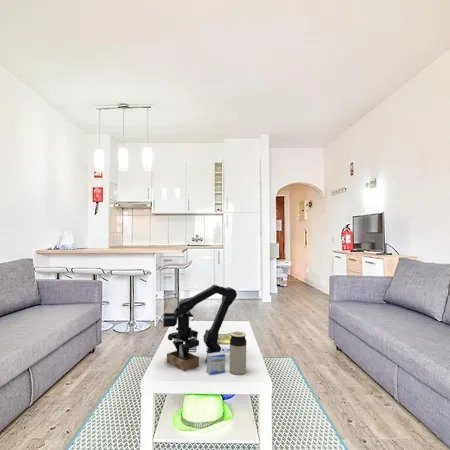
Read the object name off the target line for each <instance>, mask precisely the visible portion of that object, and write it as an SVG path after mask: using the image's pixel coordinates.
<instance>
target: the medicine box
mask: <svg viewBox="0 0 450 450" xmlns="http://www.w3.org/2000/svg"><path fill="white" fill-rule="evenodd" d="M206 359H207V362H206V372H207V373H208V374H209V375H211V376H212V375H216V374H222V373H225V372H226V353H224V351H220V352H215V353H207V352H206Z"/></svg>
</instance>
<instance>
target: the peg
mask: <svg viewBox="0 0 450 450" xmlns="http://www.w3.org/2000/svg"><path fill="white" fill-rule="evenodd" d="M184 344H185V343H183V344H180V345H179V358H180V359H182V360H184V361H186V358H184V355H183V351H182V345H184Z"/></svg>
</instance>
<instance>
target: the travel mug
mask: <svg viewBox="0 0 450 450" xmlns="http://www.w3.org/2000/svg"><path fill="white" fill-rule="evenodd" d="M230 336H231V337H230V339H229V372H230V373H231V374H233V375H244V374H245V373H246V372H247V339H246V336H247V334H246V332H244V331H240V330H238V331H231V333H230Z"/></svg>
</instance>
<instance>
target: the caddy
mask: <svg viewBox="0 0 450 450" xmlns="http://www.w3.org/2000/svg"><path fill="white" fill-rule="evenodd" d="M166 364H168V365H171V366H172V367H174V368H176V369H179V370H181V371H183V372H186V371H189V370H192V369H194V368H197V367H199V366H200V357H199V356H198V355H196V354H193V353H191V352H188V354H187V357H186V361H184V360H182V359H180V358H179V354H178V352H177V350H175V351H171V352H168V353H166Z"/></svg>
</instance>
